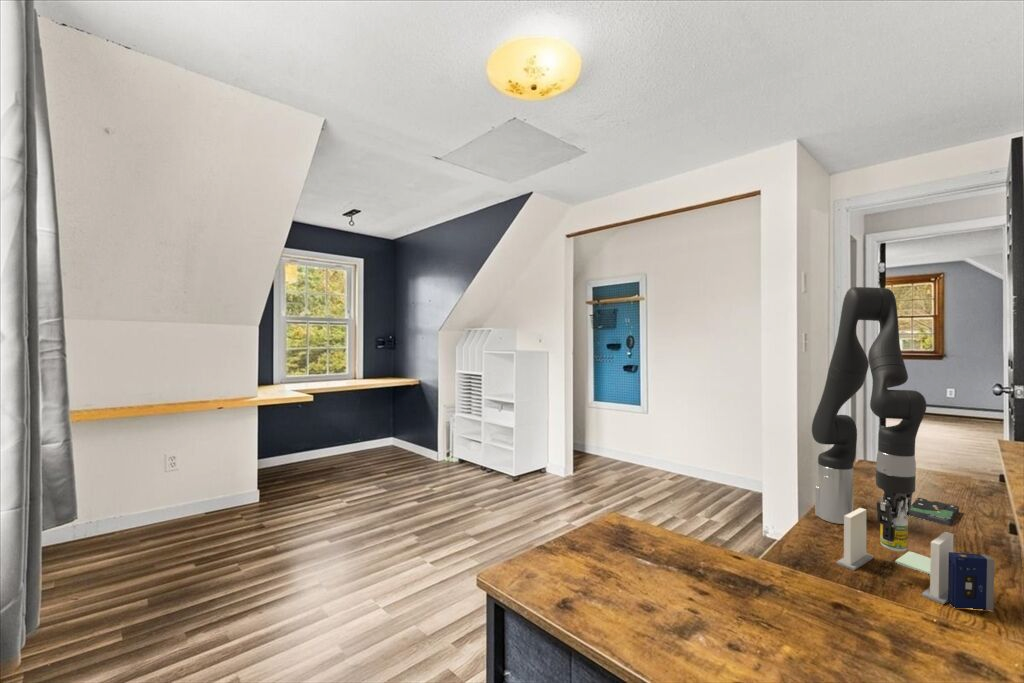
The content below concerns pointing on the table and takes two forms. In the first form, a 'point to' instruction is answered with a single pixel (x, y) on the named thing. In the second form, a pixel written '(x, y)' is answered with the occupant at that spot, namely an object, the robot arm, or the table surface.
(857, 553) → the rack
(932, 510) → the disk drive
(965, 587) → the cassette player
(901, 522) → the supplement bottle
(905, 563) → the pad
